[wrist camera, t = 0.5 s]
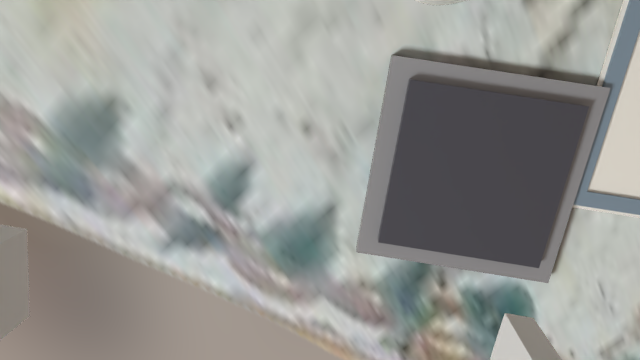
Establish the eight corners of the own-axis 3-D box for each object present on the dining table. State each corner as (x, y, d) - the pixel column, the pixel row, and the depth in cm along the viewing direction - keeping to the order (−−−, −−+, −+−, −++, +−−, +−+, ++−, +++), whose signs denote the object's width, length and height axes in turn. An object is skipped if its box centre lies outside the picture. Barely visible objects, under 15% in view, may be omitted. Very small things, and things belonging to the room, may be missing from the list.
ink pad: (391, 55, 34) (393, 55, 32) (603, 87, 33) (616, 88, 32) (356, 247, 38) (356, 256, 37) (543, 277, 38) (552, 287, 36)
